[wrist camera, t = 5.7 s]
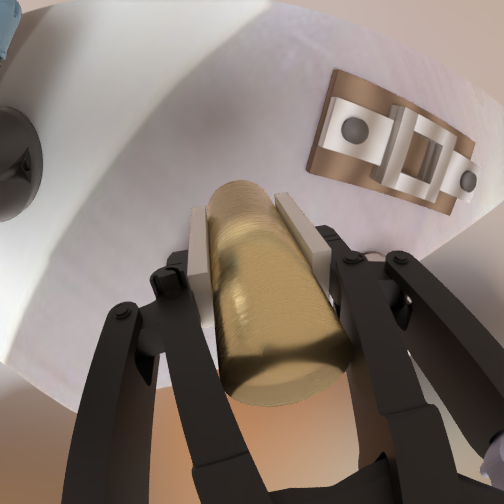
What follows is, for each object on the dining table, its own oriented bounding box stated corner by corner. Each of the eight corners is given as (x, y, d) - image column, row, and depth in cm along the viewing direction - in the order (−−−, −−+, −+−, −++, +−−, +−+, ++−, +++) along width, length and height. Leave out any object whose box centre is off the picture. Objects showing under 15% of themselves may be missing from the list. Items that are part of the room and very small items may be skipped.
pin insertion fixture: (305, 169, 35) (321, 183, 30) (333, 70, 29) (355, 67, 24) (444, 212, 41) (465, 226, 36) (469, 140, 35) (493, 149, 30)
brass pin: (193, 208, 18) (190, 374, 8) (246, 167, 17) (315, 296, 7) (234, 251, 20) (270, 417, 10) (283, 214, 19) (369, 363, 9)
